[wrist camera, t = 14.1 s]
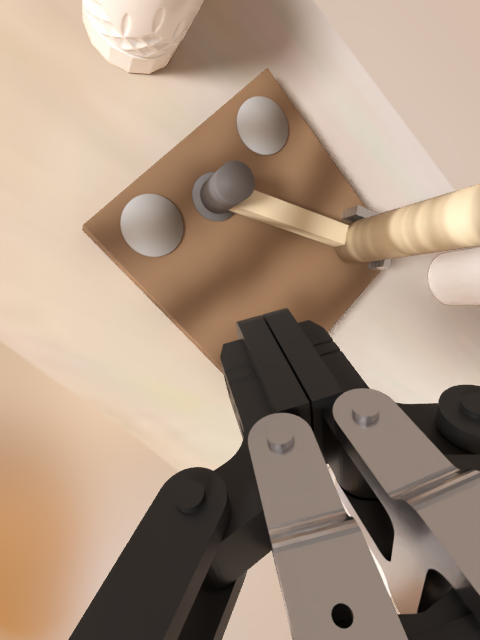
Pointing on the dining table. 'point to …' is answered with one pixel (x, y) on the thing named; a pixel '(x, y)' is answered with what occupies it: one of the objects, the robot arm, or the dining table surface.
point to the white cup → (138, 30)
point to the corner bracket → (361, 213)
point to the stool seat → (234, 225)
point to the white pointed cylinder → (456, 277)
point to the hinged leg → (359, 236)
